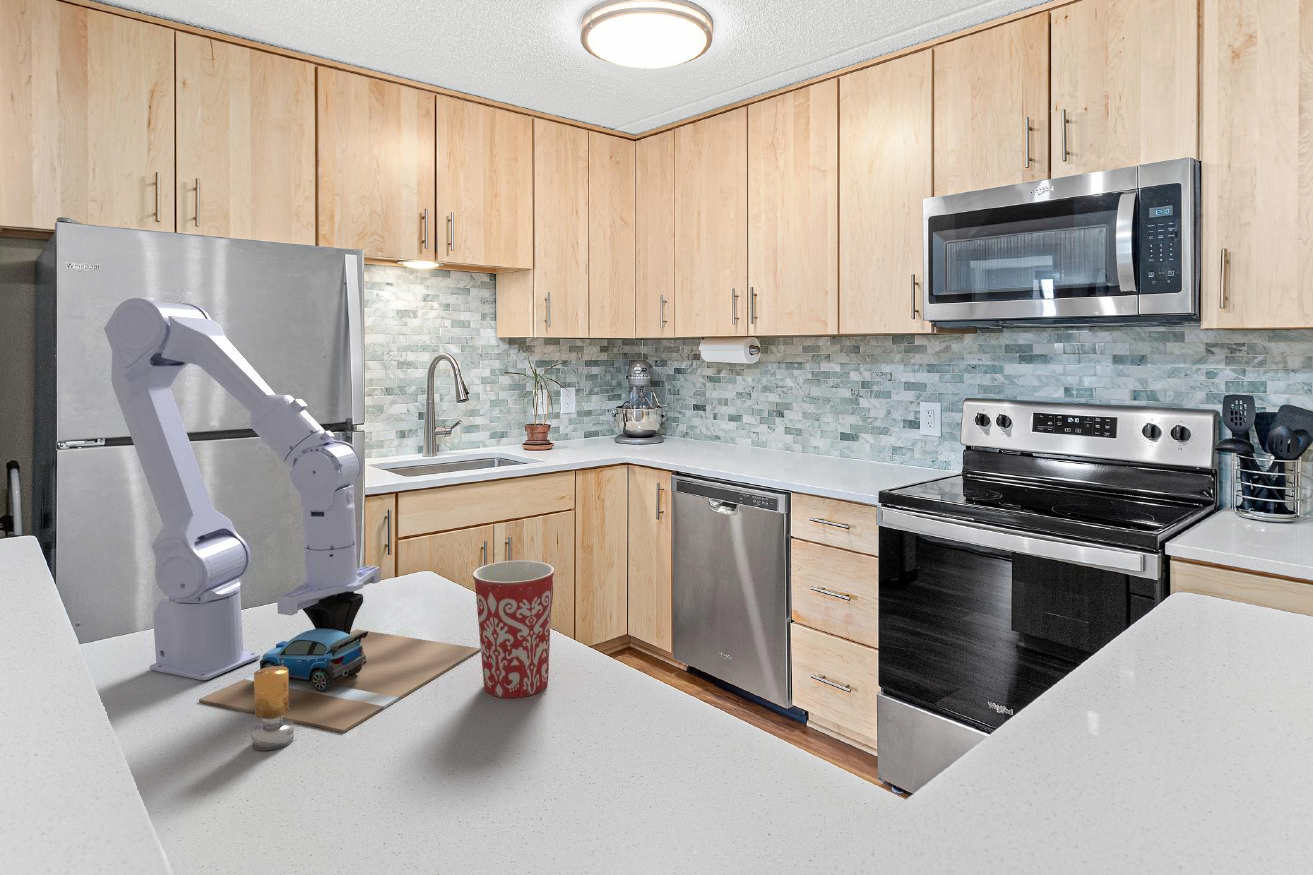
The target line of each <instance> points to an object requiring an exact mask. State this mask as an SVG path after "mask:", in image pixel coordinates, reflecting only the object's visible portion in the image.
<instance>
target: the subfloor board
mask: <svg viewBox="0 0 1313 875" xmlns="http://www.w3.org/2000/svg"><path fill="white" fill-rule="evenodd" d="M367 631H368V634H367V636H366V637H365V638H361V644H362V646H363V651H364V654H365V655H366V663H365V665H364V666H362V669H361V670H360V672H359V673H357V674H355V675H352V676H350V675H346V676H342V677H340V678H338V679H336V680H334V683H333V686H332V687H331V688H330V689H329V690H327V691H325V692H320V691H318V690H316V689H315V688H314V686H313V684H312V681H311V682H305V681H299V680H293V679H289V708H290V710H289V711H288V712H287V713H286V714H284V715H283V719H287V720H291V721H292V722H293V723H297V724H299V725H300V724H301V725H305V726H310V727H314V728H319V729H324V730H329V731H333V732H339V733H343V734H344V733H346V732H348V731H350V730H351V729H353V728H354V727H356V726H358V725H361V723H363V722H364V721H366V720H368V719H370V718H371V717H373V716H374V715H376V714H378V713H379V712H382V711H383V710H385V709H386V708H388V707H390V706H391V705H393V704H394V703H396V702H398V701H399V700H401V699H403V698H405V697H406V696H407V695H409V694H411V693H413V692H414V691H416V690H418V689H419V688H421V687H422V686H425V685H426V684H427V683H430V682H431V681H433V680H435V679H436V678H438V677H440V676H441V675H443V674H445V673H446V672H448V671H450V670H451V669H453V668H454V667H456V666H458V665H459V664H461V663H462V662H465V661H466V660H468V659H469V658H471V657H472V656H474V655H476V654H478V653H480V652H481V647H474V646H473V647H472V646H468V645H460V644H453V643H448V642H441V641H433V640H428V639H421V638H416V637H415V638H414V637H409V636H404V635H403V636H401V635H396V634H388V633H382V632H375V631H369V630H362V629H355V630H352V631H351V632H350V635H351V636H353V637H354V636H355V635H357V634H359V633H361V632H367ZM358 641H359V639H358ZM198 702H199V703H203V704H208V705H211V706H216V707H221V708H227V709H232V710H235V711H240V712H245V713H250V714H254V715H255V693H254V674H253V675H251V676H248V677H246V678H243V679H242V680H239V681H237V682H234V683H233V684H231V685H228V686H225V687H223V688H221V689H219V690H216V691H214V692H211V693H210V694H207V695H205V696H203V697H200V698H199V699H198Z"/></svg>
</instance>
